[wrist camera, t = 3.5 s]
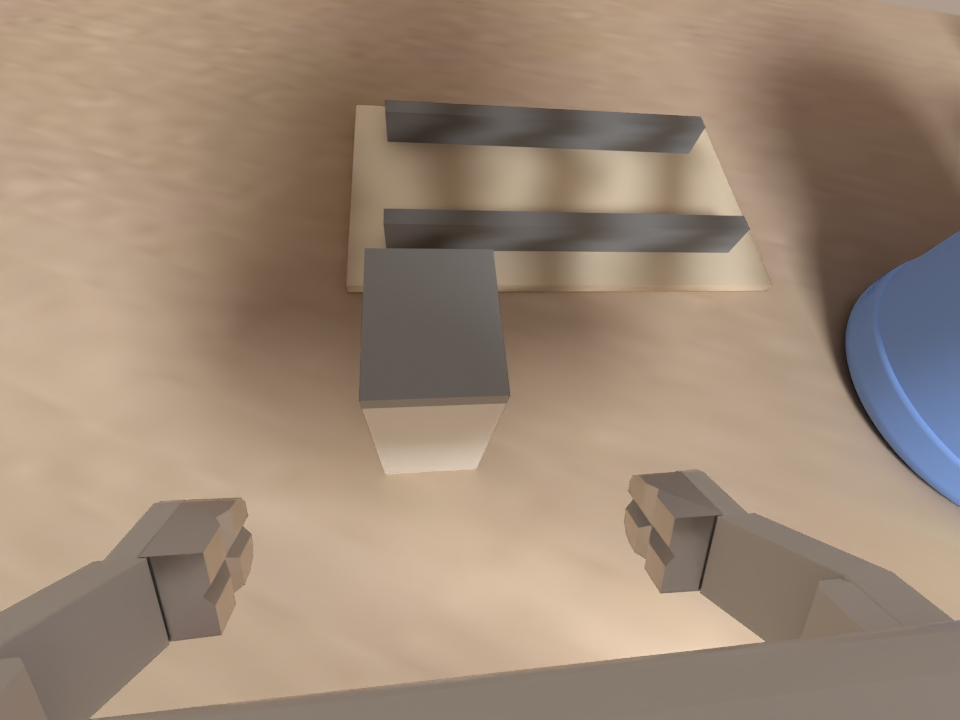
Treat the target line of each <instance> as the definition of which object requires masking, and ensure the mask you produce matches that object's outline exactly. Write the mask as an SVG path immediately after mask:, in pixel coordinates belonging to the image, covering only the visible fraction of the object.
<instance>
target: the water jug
mask: <svg viewBox="0 0 960 720" xmlns="http://www.w3.org/2000/svg"><path fill="white" fill-rule="evenodd" d="M846 356H847V362H848V367H849V371H850V374H851V378H852V381H853V384H854V386H855V389H856V391H857V394H858V396H859V398H860V400H861V402H862V404H863V406H864V408H865V410H866V411H867V413H868V415H869V417H870V418H871V420H872V421H873V423H874V425H875V426H876V427H877V429H878V430H879V432H880V433H881V435H882V436H883V437H884V439H885V440H886V441H887V442H888V444H889V445H890V446H891V447H892V448H893V450H894V451H895V452H896V453H897V454H898V455H899V456H900V457H901V459H902V460H903V461H904V462H905V463H906V464H907V465H908V466H909V467H910V468H911V469H912V470H913V471H914V472H915V473H917V474H918V475H919V476H920V477H921V478H922V479H923V480H924V481H926V482H927V483H928V484H929V485H930V486H932V487H933V488H934V489H935V490H937V491H938V492H939V493H941V494H942V495H943V496H945V497H946V498H948V499H949V500H950V501H952V502H953V503H955V504H956V505H958V506H960V230H959V231H958V232H956V233H955V234H953V235H952V236H950V237H949V238H947V239H945V240H944V241H942V242H941V243H939V244H938V245H936V246H935V247H933V248H932V249H930V250H929V251H927V252H926V253H924V254H923V255H921V256H920V257H918V258H915V259H912V260H910V261H907V262H905V263H903V264H901V265H900V266H897V267H896V268H894V269H892V270H891V271H889V272H888V273H886V274H885V275H883V276H882V277H881V278H880V279H878V280H877V281H876V282H874V283H873V284H872V285H871V286H869V287H868V288H867V289H866V290H865V291H864V292H863V293H862V295H861V296H860V297H859V299H858V300H857V302H856V303H855V305H854V307H853V309H852V311H851V314H850V316H849V320H848V324H847V329H846Z"/></svg>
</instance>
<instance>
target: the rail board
mask: <svg viewBox="0 0 960 720" xmlns="http://www.w3.org/2000/svg"><path fill="white" fill-rule="evenodd" d="M749 230H750V229H749V227H748V224H747V222H746V220H745V217H744V216H742V213H741V211H740V209H739V206H738V204H737V202H736V199H735V197H734V195H733V193H732V190H731V188H730V186H729V183H728V181H727V179H726V176H725V174H724V172H723V169H722V167H721V165H720V162H719V160H718V158H717V156H716V153H715V151H714V149H713V146H712V144H711V142H710V139H709V137H708V135H707V132H706V130H705V125H704V123H703V121H702V118H701V117H697V116H678V115H659V114H640V113H620V112H601V111H582V110H563V109H543V108H524V107H505V106H486V105H467V104H447V103H428V102H409V101H390V100H385V106H370V105H356V117H355V135H354V153H353V170H352V188H351V206H350V224H349V241H348V259H347V277H346V287H347V291H348V292H363V279H364V252H365V248H403V249H493V252H494V261H495V269H496V278H497V287H498V292H558V291H766V290H767V289H768V288H769V287H770V286H771V285H772V283H771V280H770V278H769V276H768V273H767V271H766V269H765V266H764V264H763V262H762V260H761V257H760V255H759V253H758V250H757V248H756V246H755V243H754V241H753V239H752V236H751V234H750V232H749Z"/></svg>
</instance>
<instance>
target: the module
mask: <svg viewBox="0 0 960 720" xmlns="http://www.w3.org/2000/svg"><path fill="white" fill-rule="evenodd" d="M509 397H510V389H509V380H508V372H507V363H506V355H505V346H504V338H503V329H502V321H501V312H500V304H499V295H498V287H497V278H496V269H495V261H494V252H493V249H403V248H365V252H364V279H363V307H362V334H361V362H360V389H359V402H360V405H361V408H362V410H363V413H364V416H365V419H366V422H367V424H368V427H369V430H370V433H371V436H372V438H373V441H374V444H375V447H376V450H377V452H378V455H379V458H380V461H381V464H382V466H383V469H384V472H385V474H398V473H415V472H433V471H451V470H468V469H476V468H477V466H478V464H479V462H480V459H481V457H482V455H483V453H484V451H485V449H486V447H487V444H488V442H489V440H490V438H491V436H492V434H493V432H494V429H495V427H496V425H497V423H498V421H499V419H500V416H501V414H502V412H503V410H504V408H505V406H506V404H507V401H508V399H509Z"/></svg>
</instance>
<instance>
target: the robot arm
mask: <svg viewBox="0 0 960 720" xmlns="http://www.w3.org/2000/svg"><path fill="white" fill-rule="evenodd" d="M628 492H629V493H630V495H631V496H632V498H633V500H632V501H631V503H630V504H629V505H628V506H627V507H626V509H625V518H624V524H625V531H626V536H627V538H628V541H629V544H630V545H631V547H632V549H633V550H634V552H635V553H637V554H638V555H640V556H641V557H643V558H645V559H646V562H645V570H646V571H647V573H648V575H649V576H650V578H651V579H652V581H653V582H654V584H655V586H656V587H657V589H658V590H659V592H660V593H673V592H689V591H700V593H701V594H702V595H704V596H705V597H706V598H708V599H709V600H710V601H712V602H713V603H715V604H716V605H717V606H719V607H720V608H721V609H723V610H724V611H725V612H727V613H728V614H729V615H731V616H732V617H733V618H735V619H736V620H737V621H739V622H740V623H742V624H743V625H744V626H746V627H747V628H748V629H750V630H751V631H752V632H754V633H755V634H756V635H758V636H759V637H760V638H762V639H763V640H764V641H766V642H762V643H754V644H745V645H737V646H728V647H720V648H712V649H703V650H694V651H685V652H676V653H667V654H658V655H649V656H640V657H631V658H622V659H613V660H604V661H595V662H586V663H577V664H568V665H559V666H550V667H542V668H533V669H524V670H516V671H507V672H498V673H489V674H481V675H472V676H463V677H455V678H446V679H437V680H428V681H420V682H411V683H402V684H394V685H385V686H376V687H368V688H359V689H350V690H341V691H333V692H324V693H315V694H306V695H297V696H289V697H280V698H271V699H262V700H254V701H245V702H236V703H227V704H218V705H210V706H201V707H192V708H183V709H175V710H166V711H157V712H148V713H140V714H131V715H122V716H113V717H104V718H96V719H89V718H90V717H91V716H92V715H94V714H95V713H96V712H97V711H98V710H99V709H100V708H101V707H102V706H103V705H104V704H105V703H107V702H108V701H109V700H110V699H111V698H112V697H113V696H114V695H115V694H116V693H117V692H118V691H120V690H121V689H122V688H123V687H124V686H125V685H126V684H127V683H128V682H129V681H130V680H131V679H133V678H134V677H135V676H136V675H137V674H138V673H139V672H140V671H141V670H142V669H143V668H144V667H146V666H147V665H148V664H149V663H150V662H151V661H152V660H153V659H154V658H155V657H156V656H158V655H159V654H160V653H161V652H162V651H163V650H164V649H165V648H166V647H167V646H168V645H169V644H170V643H169V642H170V641H178V640H186V639H194V638H202V637H211V636H219V635H222V633H223V631H224V629H225V627H226V625H227V622H228V620H229V618H230V616H231V614H232V612H233V609H234V607H235V605H236V601H235V596H234V593H235V592H236V591H237V590H238V589H240V588H241V587H242V586H243V585H245V583H246V580H247V578H248V576H249V573H250V570H251V565H252V560H253V541H252V534H251V533H250V532H249V531H247V530H246V529H245V528H244V527H243V524H244V522H245V521H246V519H247V517H248V512H247V508H246V503H245V501H244V500H243V499H242V498H217V499H192V500H172V501H160V502H157V503H155V504H153V505H152V506H151V507H150V508H149V510H148V511H147V512H146V513H145V514H144V515H143V516H142V517H141V519H140V520H139V521H138V522H137V523H136V524H135V525H134V527H133V528H132V529H131V530H130V531H129V532H128V533H127V534H126V536H125V537H124V538H123V539H122V540H121V541H120V542H119V544H118V545H117V546H116V547H115V548H114V549H113V550H112V551H111V553H110V554H109V555H108V556H107V557H106V558H105V559H104V560H103V561H97V562H92V563H90V564H88V565H86V566H85V567H83V568H81V569H79V570H77V571H75V572H74V573H72V574H70V575H68V576H66V577H64V578H62V579H61V580H59V581H57V582H55V583H53V584H51V585H50V586H48V587H46V588H44V589H42V590H40V591H38V592H37V593H35V594H33V595H31V596H29V597H27V598H26V599H24V600H22V601H20V602H18V603H16V604H14V605H13V606H11V607H9V608H7V609H5V610H3V611H2V612H0V720H960V620H955V621H954V620H953V619H952V618H950V617H949V616H948V615H946V614H945V613H944V612H943V611H941V610H940V609H939V608H938V607H936V606H935V605H934V604H932V603H931V602H930V601H929V600H927V599H926V598H925V597H923V596H922V595H921V594H920V593H918V592H917V591H916V590H914V589H913V588H912V587H911V586H909V585H908V584H907V583H905V582H904V581H903V580H902V579H900V578H899V577H898V576H897V575H895V574H894V573H893V572H891V571H888V570H886V569H884V568H881V567H879V566H877V565H874V564H872V563H870V562H867V561H865V560H863V559H860V558H858V557H856V556H853V555H851V554H849V553H846V552H844V551H842V550H839V549H837V548H835V547H832V546H830V545H828V544H825V543H823V542H821V541H818V540H816V539H814V538H811V537H809V536H807V535H804V534H802V533H800V532H797V531H795V530H793V529H790V528H788V527H786V526H783V525H781V524H779V523H776V522H774V521H772V520H769V519H767V518H765V517H762V516H760V515H758V514H755V513H752V514H748V513H747V512H746V511H745V510H744V509H743V508H742V507H740V506H739V505H738V504H737V503H736V502H735V501H734V500H733V499H732V498H731V497H730V496H729V495H728V494H727V493H725V492H724V491H723V490H722V489H721V488H720V487H719V486H718V485H717V484H716V483H715V482H714V481H713V480H712V479H710V478H709V477H708V476H707V475H706V474H705V473H704V472H702V471H700V470H697V469H696V470H685V471H676V472H668V473H654V474H641V475H633V476H632V478H631V480H630V483H629V489H628Z"/></svg>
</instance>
